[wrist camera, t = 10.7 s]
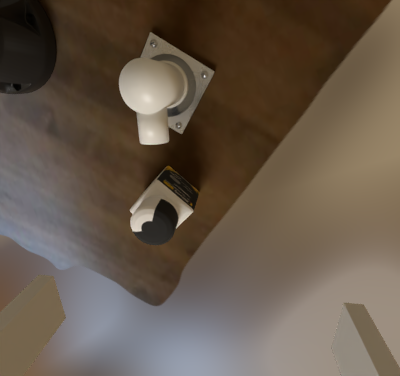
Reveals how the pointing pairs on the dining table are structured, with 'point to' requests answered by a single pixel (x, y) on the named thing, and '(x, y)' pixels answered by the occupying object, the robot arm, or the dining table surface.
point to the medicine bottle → (163, 207)
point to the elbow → (152, 95)
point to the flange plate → (195, 75)
